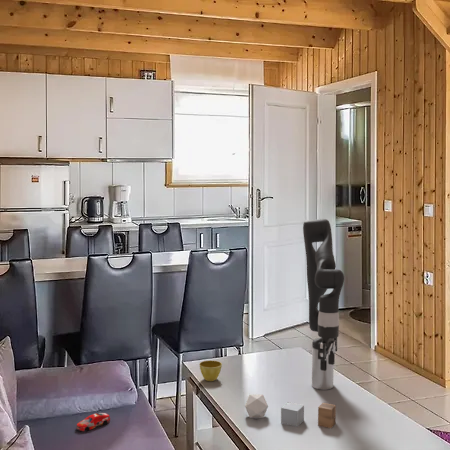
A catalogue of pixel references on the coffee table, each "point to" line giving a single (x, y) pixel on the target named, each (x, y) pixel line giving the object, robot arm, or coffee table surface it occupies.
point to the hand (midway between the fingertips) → (327, 367)
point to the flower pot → (210, 369)
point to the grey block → (292, 414)
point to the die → (256, 406)
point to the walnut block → (326, 415)
